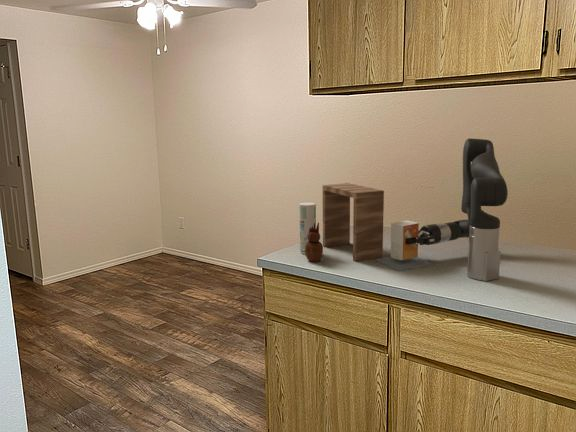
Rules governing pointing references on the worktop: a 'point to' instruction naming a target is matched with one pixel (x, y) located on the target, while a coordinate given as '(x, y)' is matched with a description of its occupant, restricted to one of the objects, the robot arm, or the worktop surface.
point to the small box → (403, 240)
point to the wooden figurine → (314, 245)
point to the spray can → (306, 222)
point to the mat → (403, 263)
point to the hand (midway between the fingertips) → (399, 239)
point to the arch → (354, 219)
